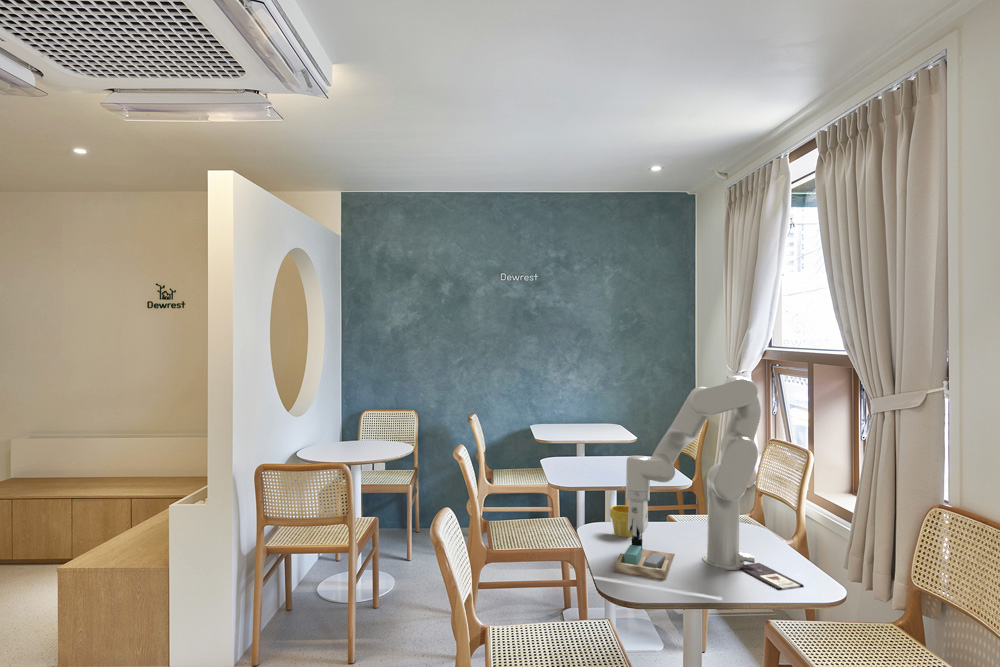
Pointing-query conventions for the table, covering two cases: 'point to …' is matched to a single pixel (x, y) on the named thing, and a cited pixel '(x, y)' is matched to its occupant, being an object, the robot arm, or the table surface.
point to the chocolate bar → (770, 576)
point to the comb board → (643, 570)
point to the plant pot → (620, 520)
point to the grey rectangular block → (655, 561)
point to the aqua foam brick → (633, 554)
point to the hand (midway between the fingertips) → (636, 550)
